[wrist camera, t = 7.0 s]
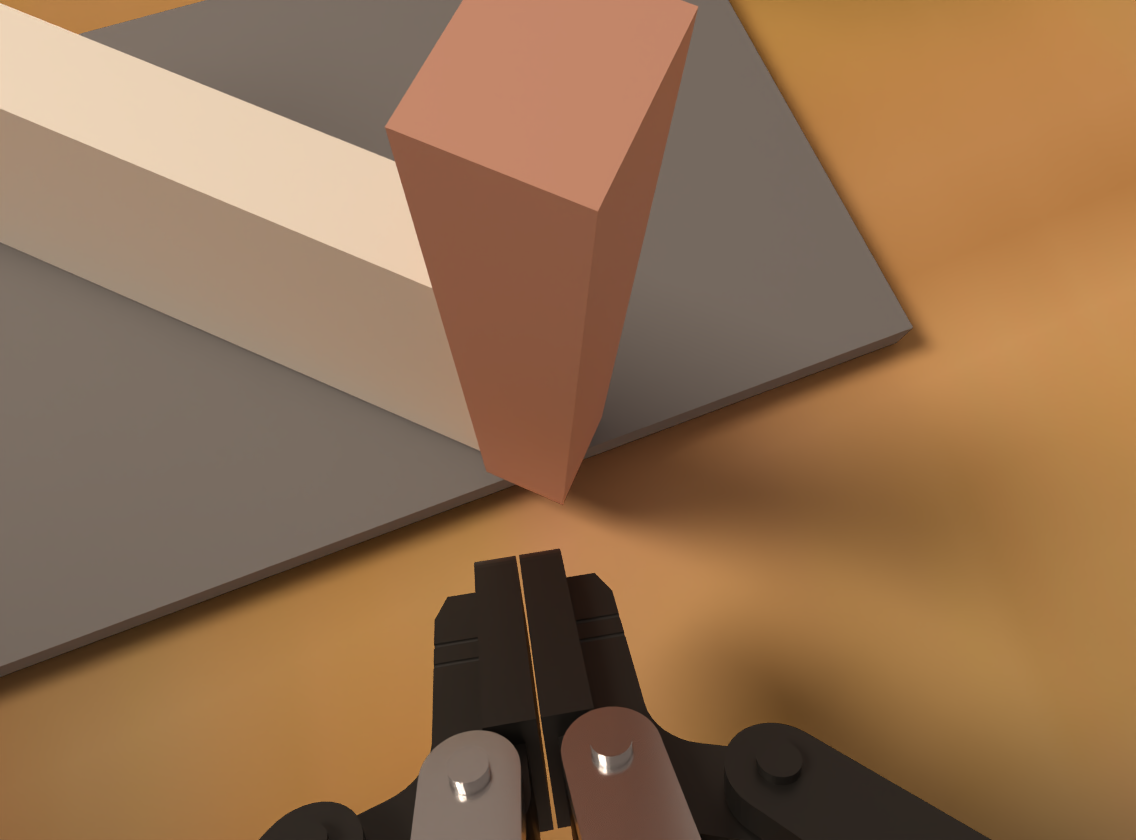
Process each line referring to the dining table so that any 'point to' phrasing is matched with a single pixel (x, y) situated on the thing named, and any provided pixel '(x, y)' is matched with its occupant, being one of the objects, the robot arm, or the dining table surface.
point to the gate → (375, 213)
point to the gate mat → (342, 421)
